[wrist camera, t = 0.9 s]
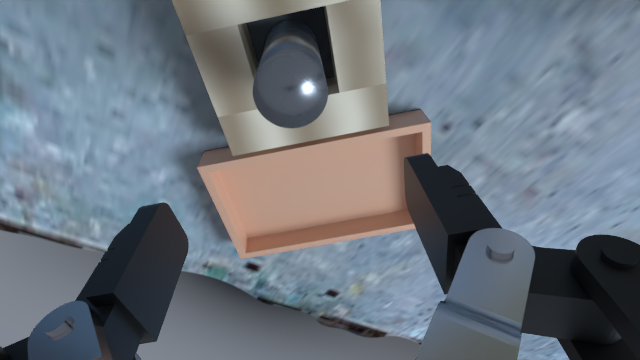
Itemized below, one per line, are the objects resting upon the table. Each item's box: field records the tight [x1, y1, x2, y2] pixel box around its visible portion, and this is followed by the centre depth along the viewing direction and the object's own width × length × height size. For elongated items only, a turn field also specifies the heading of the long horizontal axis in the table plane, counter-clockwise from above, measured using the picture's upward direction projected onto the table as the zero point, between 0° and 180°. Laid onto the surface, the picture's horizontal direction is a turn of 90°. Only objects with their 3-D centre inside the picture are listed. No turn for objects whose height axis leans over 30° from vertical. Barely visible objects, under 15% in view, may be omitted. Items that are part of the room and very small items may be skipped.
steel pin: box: [253, 20, 328, 128], centre depth 24 cm, size 4×4×11 cm
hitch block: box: [172, 0, 389, 156], centre depth 27 cm, size 14×14×4 cm
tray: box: [197, 109, 431, 259], centre depth 35 cm, size 22×13×3 cm, turn 100°
